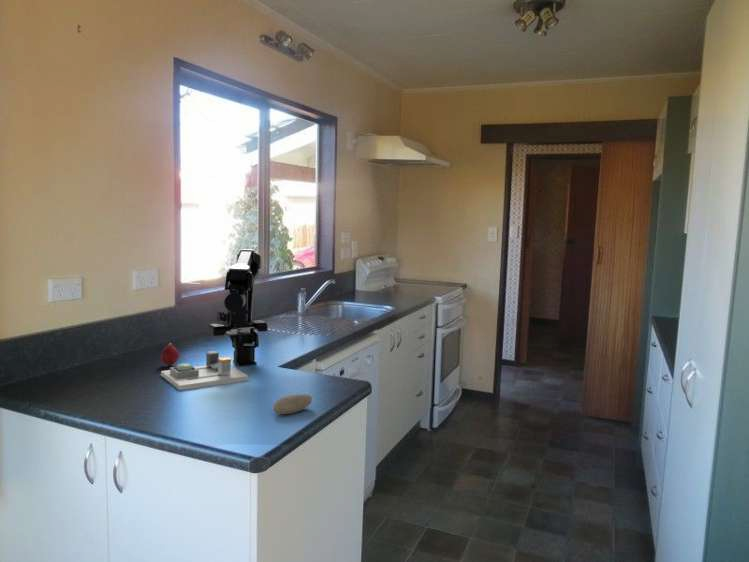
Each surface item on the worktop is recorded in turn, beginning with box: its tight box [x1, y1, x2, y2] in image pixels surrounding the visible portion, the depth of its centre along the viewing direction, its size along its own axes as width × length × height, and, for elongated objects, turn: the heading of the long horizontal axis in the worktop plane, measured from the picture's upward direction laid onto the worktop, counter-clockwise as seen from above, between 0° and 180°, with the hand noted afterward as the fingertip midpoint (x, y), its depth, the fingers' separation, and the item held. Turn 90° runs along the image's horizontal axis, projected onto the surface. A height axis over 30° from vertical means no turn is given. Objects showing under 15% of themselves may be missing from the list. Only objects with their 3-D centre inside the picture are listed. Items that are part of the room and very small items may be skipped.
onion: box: [160, 342, 180, 367], centre depth 196 cm, size 6×6×8 cm
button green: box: [176, 363, 193, 372], centre depth 181 cm, size 4×4×2 cm
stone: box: [273, 393, 313, 415], centre depth 156 cm, size 6×6×12 cm
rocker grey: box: [210, 362, 218, 369], centre depth 189 cm, size 5×4×1 cm
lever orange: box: [218, 356, 232, 376], centre depth 184 cm, size 3×3×5 cm
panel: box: [160, 365, 249, 391], centre depth 184 cm, size 22×18×4 cm
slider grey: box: [205, 350, 220, 368], centre depth 191 cm, size 3×3×5 cm
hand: (237, 353), depth 186 cm, fingers closed
